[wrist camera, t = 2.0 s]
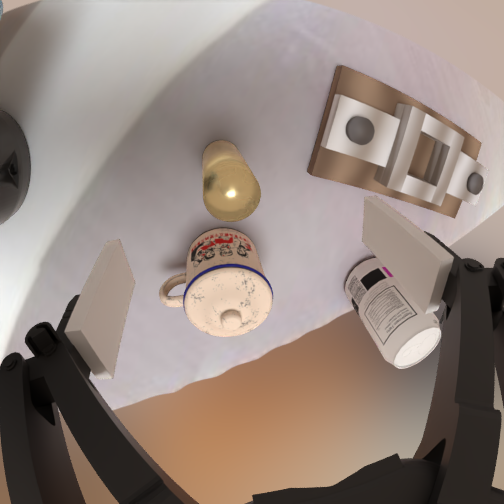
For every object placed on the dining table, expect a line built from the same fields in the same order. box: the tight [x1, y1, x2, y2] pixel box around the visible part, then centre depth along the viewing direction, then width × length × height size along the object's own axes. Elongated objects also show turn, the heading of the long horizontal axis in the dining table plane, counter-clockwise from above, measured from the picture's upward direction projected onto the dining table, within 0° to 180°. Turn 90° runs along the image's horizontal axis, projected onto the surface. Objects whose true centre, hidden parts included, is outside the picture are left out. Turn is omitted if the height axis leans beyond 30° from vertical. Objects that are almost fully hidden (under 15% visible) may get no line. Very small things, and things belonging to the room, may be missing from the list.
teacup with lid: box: [159, 228, 273, 337], centre depth 32 cm, size 12×9×12 cm
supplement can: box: [345, 258, 441, 368], centre depth 36 cm, size 8×8×15 cm
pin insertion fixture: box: [307, 65, 489, 218], centre depth 31 cm, size 26×13×6 cm, turn 76°
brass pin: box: [202, 140, 261, 222], centre depth 26 cm, size 4×4×12 cm
